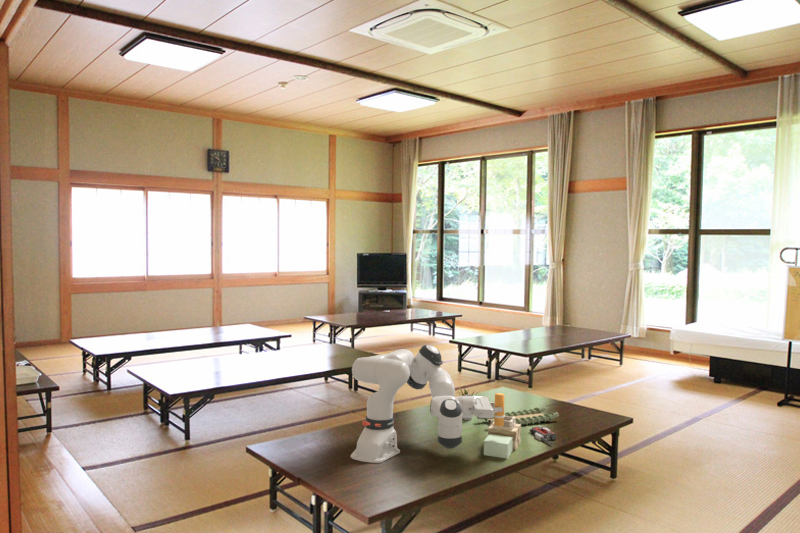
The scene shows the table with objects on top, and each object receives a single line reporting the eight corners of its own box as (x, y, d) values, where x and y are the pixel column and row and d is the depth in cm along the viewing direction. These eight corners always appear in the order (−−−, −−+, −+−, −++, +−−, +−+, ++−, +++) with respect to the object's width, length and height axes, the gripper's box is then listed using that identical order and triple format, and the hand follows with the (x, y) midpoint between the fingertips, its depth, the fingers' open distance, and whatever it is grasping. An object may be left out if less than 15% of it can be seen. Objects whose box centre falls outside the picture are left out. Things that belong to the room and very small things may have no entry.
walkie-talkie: (525, 433, 265) (550, 447, 246) (525, 424, 265) (550, 437, 246) (541, 431, 268) (566, 445, 249) (541, 422, 268) (567, 435, 249)
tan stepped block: (515, 450, 241) (515, 423, 240) (487, 446, 245) (488, 420, 245) (520, 441, 252) (521, 416, 251) (494, 438, 256) (494, 413, 256)
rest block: (507, 458, 231) (507, 444, 231) (483, 454, 235) (484, 440, 235) (512, 450, 240) (512, 437, 240) (489, 447, 244) (489, 433, 244)
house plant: (444, 417, 287) (445, 385, 287) (462, 412, 296) (463, 382, 296) (466, 424, 277) (466, 391, 276) (484, 418, 286) (484, 387, 285)
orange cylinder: (501, 427, 234) (502, 396, 234) (492, 425, 237) (492, 394, 236) (506, 424, 238) (506, 394, 237) (496, 422, 240) (497, 392, 240)
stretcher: (491, 431, 267) (491, 420, 267) (475, 422, 281) (475, 412, 281) (560, 422, 283) (560, 412, 283) (542, 414, 296) (542, 405, 296)
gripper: (471, 406, 227) (505, 406, 227) (466, 393, 247) (498, 393, 247) (470, 421, 227) (505, 422, 227) (466, 407, 248) (497, 408, 247)
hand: (501, 407), depth 237 cm, fingers closed on orange cylinder, 4 cm apart
